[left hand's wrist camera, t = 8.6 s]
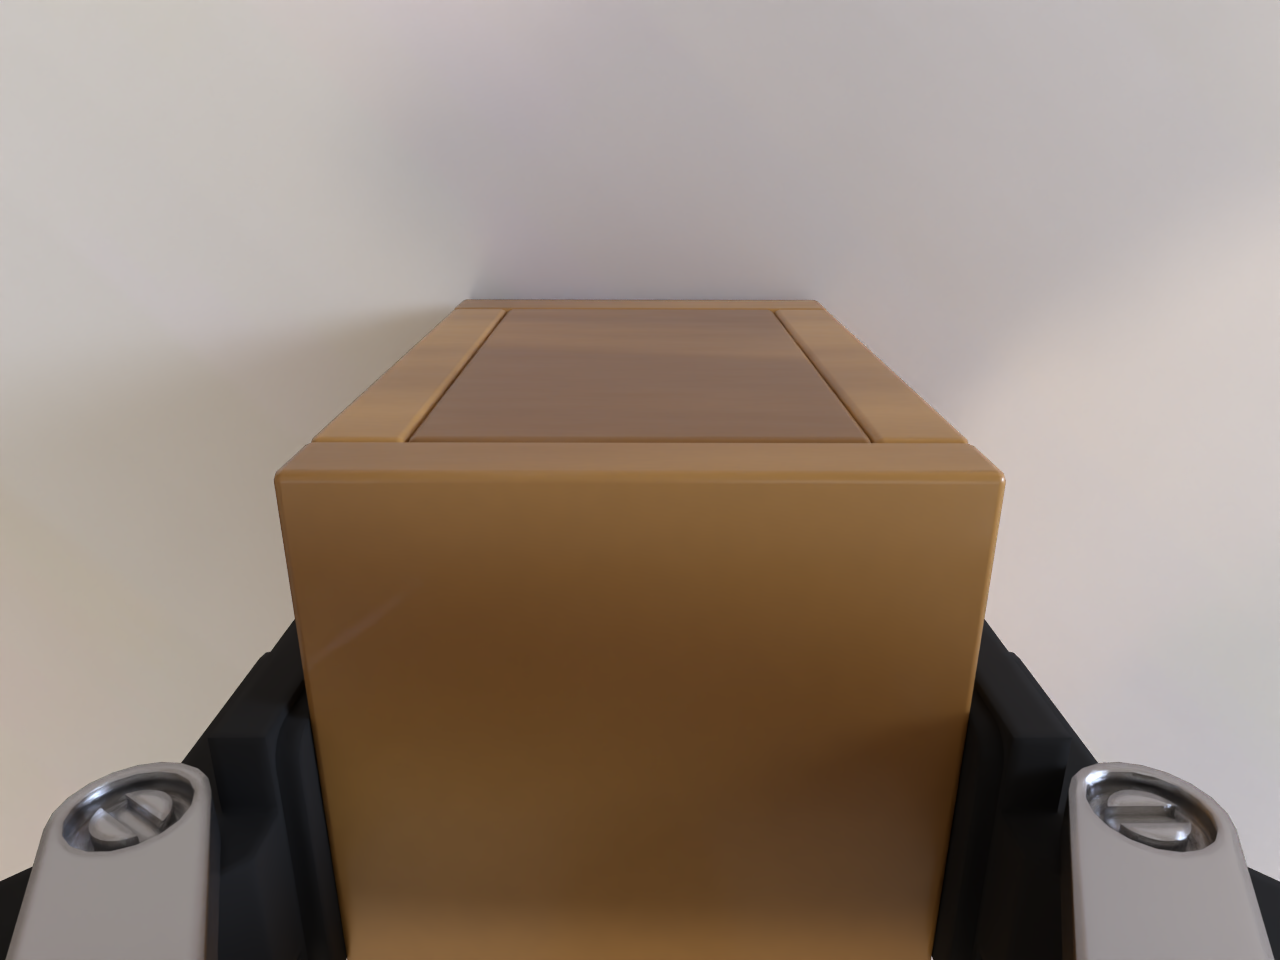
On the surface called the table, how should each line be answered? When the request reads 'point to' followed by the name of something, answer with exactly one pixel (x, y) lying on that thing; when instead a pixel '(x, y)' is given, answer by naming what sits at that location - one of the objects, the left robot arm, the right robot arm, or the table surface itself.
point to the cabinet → (639, 637)
